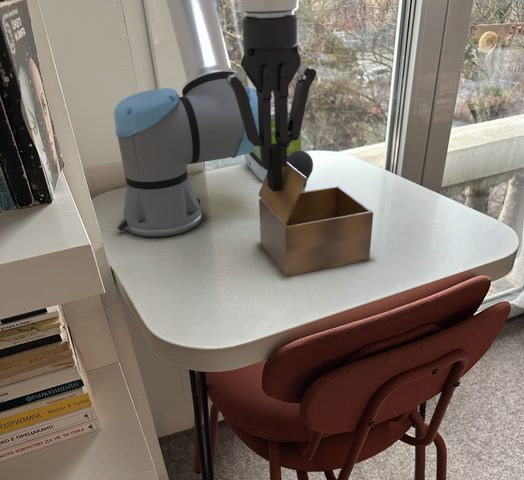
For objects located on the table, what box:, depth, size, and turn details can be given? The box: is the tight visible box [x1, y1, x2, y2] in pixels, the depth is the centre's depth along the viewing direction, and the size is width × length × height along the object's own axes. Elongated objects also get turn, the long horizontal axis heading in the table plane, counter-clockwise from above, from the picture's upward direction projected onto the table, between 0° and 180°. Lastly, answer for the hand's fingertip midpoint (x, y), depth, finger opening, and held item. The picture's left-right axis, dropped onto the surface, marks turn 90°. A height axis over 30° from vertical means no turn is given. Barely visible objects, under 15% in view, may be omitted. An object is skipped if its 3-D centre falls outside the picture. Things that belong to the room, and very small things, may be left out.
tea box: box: [244, 96, 302, 183], centre depth 127 cm, size 15×10×15 cm
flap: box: [258, 162, 308, 224], centre depth 87 cm, size 7×13×1 cm
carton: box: [258, 185, 374, 277], centre depth 94 cm, size 15×13×8 cm
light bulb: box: [287, 149, 314, 192], centre depth 113 cm, size 6×6×10 cm
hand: (274, 188), depth 87 cm, fingers closed
